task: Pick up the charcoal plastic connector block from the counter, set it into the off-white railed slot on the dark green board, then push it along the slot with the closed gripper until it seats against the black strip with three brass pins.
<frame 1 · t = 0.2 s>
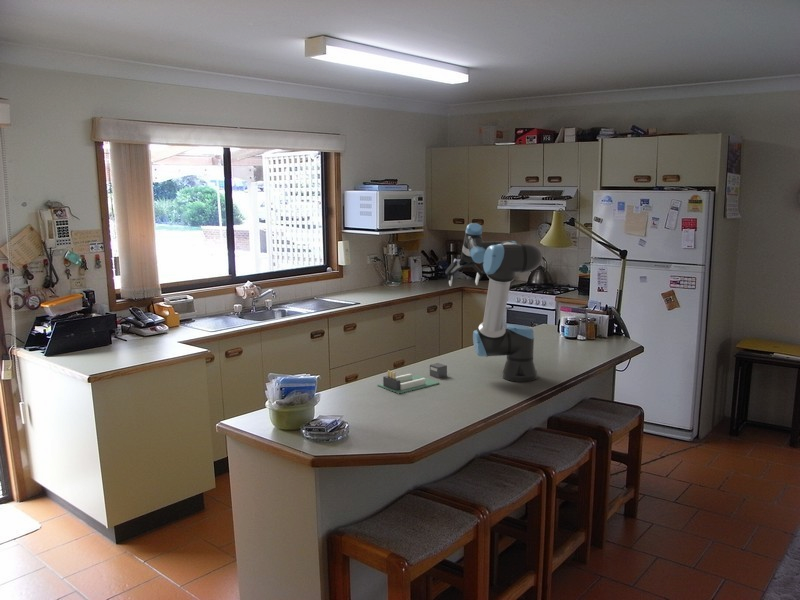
hand: (463, 283, 335), 35 cm above the table, tool tilted 35°, fingers open, 13 cm apart
plug: (438, 375, 301), on the table
header board: (408, 384, 287), on the table
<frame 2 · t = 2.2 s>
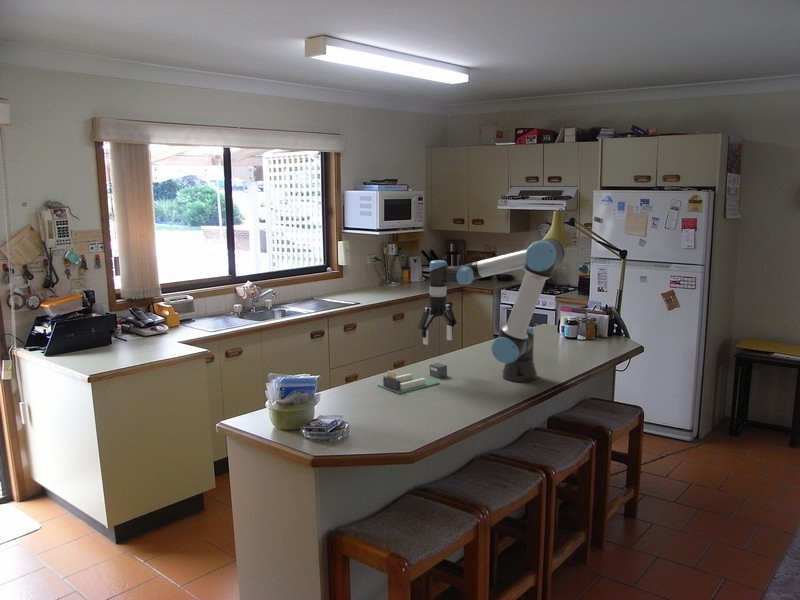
hand: (437, 342, 300), 15 cm above the table, tool pointing down, fingers open, 13 cm apart
nothing on the table moved.
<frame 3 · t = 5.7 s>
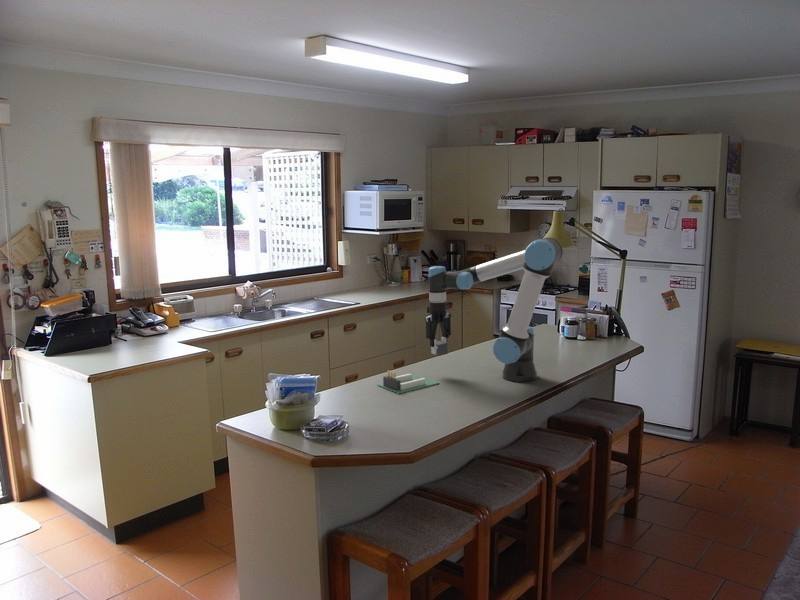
hand: (439, 352, 299), 11 cm above the table, tool pointing down, fingers closed on plug, 5 cm apart
plug: (438, 353, 299), point 10 cm above the table, touching gripper
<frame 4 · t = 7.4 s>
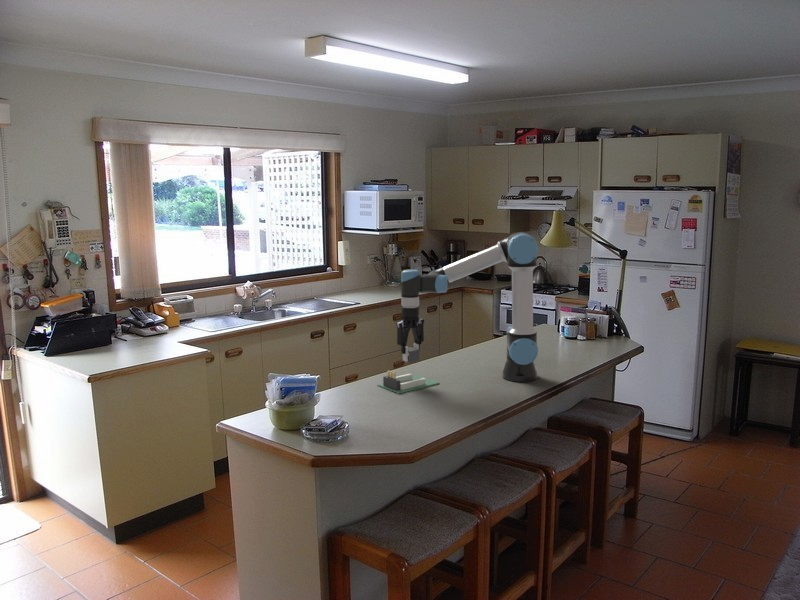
hand: (410, 359, 286), 11 cm above the table, tool pointing down, fingers closed on plug, 5 cm apart
plug: (410, 360, 287), point 10 cm above the table, touching gripper
when the fingers open (1 cm above the table, at t = 9.3 s): plug stays where it is, resting on header board.
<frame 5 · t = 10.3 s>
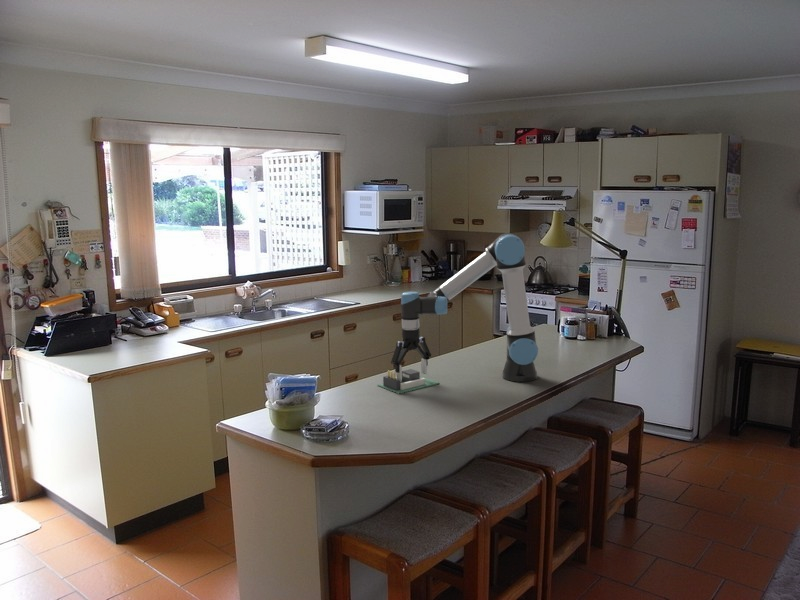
hand: (411, 376, 288), 3 cm above the table, tool pointing down, fingers open, 13 cm apart
plug: (410, 382, 289), point 1 cm above the table, touching header board
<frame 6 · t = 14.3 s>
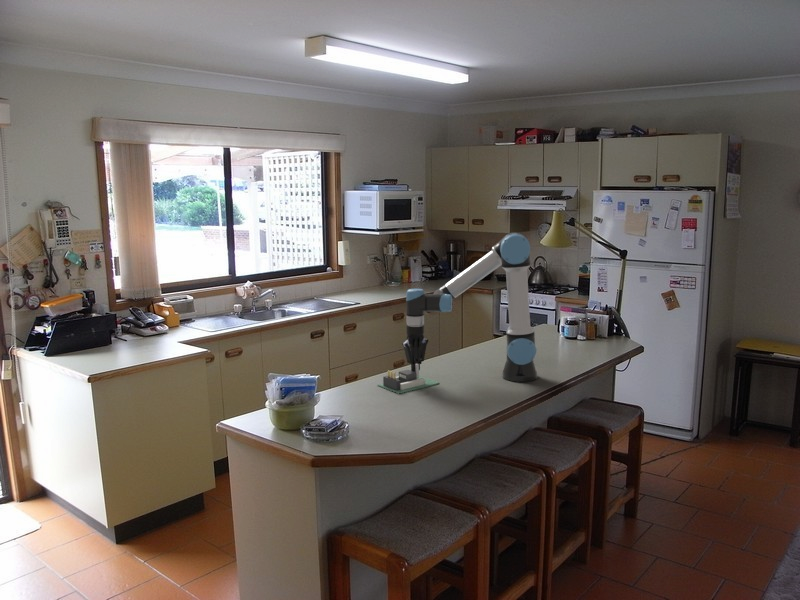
hand: (415, 378, 290), 2 cm above the table, tool pointing down, fingers closed
plug: (407, 383, 288), point 1 cm above the table, touching gripper
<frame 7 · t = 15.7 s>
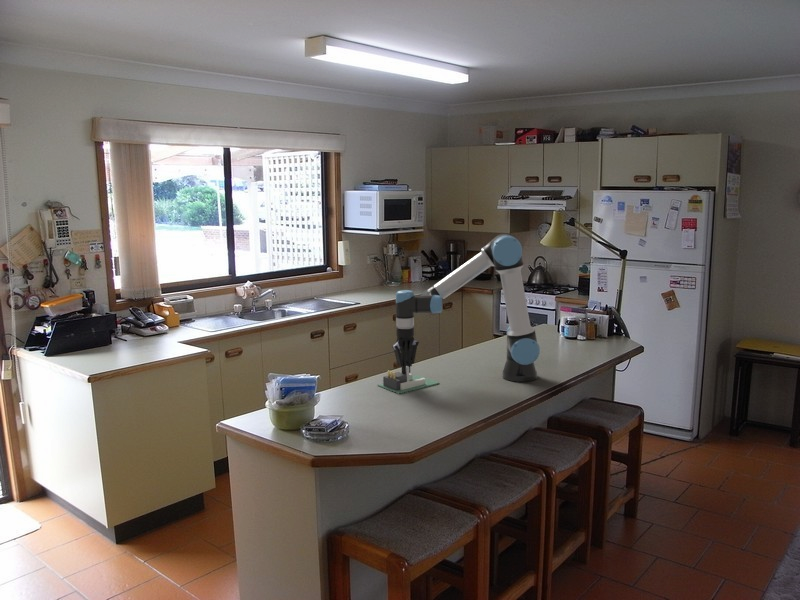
hand: (406, 380, 287), 2 cm above the table, tool pointing down, fingers closed
plug: (398, 385, 285), point 1 cm above the table, touching gripper, header board
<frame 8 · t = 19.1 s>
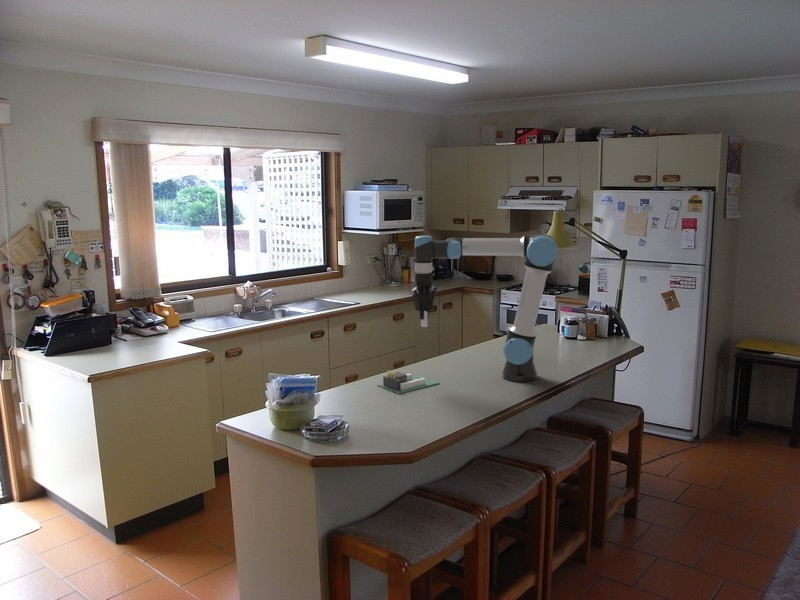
hand: (424, 326, 289), 24 cm above the table, tool pointing down, fingers closed
plug: (398, 385, 285), point 1 cm above the table, touching header board
at the end: plug inside the target area (0.5 cm from its centre), point 0.6 cm above the table; plug tilted 0°; the gripper is holding nothing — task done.
